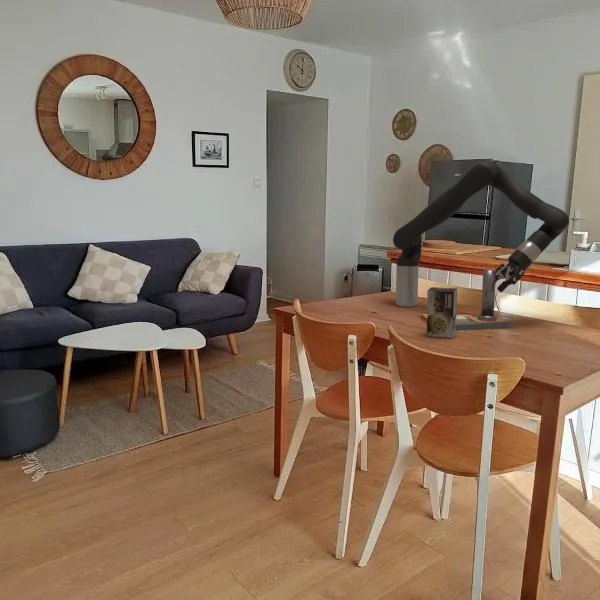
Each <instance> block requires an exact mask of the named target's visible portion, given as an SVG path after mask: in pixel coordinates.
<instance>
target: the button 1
mask: <svg viewBox="0 0 600 600" xmlns="http://www.w3.org/2000/svg"><path fill="white" fill-rule="evenodd" d="M467 318H468V317H465V316H463V315H456V324H457V323H468V319H467Z"/></svg>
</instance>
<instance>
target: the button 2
mask: <svg viewBox="0 0 600 600" xmlns="http://www.w3.org/2000/svg"><path fill="white" fill-rule="evenodd" d="M477 317H478V316H470V317H469V316H468V317H467V318H468V319H469V320H471V321H473V322H475V323H477V324H478V323H497V322H506V321H507V320H506V319H504V320H502V319H503V318H501V317H499V316H497V320H496V321H482V320H478V319H477ZM498 317H499V318H498ZM500 318H501V319H500ZM505 320H506V321H505Z"/></svg>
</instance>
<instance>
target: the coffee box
mask: <svg viewBox="0 0 600 600" xmlns="http://www.w3.org/2000/svg"><path fill="white" fill-rule="evenodd" d="M426 295H427V296H426V297H427V298H426V299H427V302H426V304H427V305H426V336H427V337H433V338H436V337H437V338H445V339H446V338H448V339H453V338H455V336H456V335H457V331H456V316H457V312H458V311H457V308H458V307H457V306H458V298H457V297H458V288H457V287H453V288H452V287H438V286H436V287H434V286H433V287H429V288H428V290H427V294H426Z"/></svg>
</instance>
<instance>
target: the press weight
mask: <svg viewBox="0 0 600 600" xmlns="http://www.w3.org/2000/svg"><path fill="white" fill-rule="evenodd" d="M496 273H497V272H496V269H491V268H486V269H483V270H482V284H481V286H482V288H481V291H482V292H481V306H480V307H481V308H480V310H481V312H480V313H478V314H477V316H476V317H477V319H478V320H482V321H496V320H497V317H498V315H497V314H495V302H496V301H495V299H496V298H495V297H496V283H497V282H496ZM495 282H496V283H495Z"/></svg>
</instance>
